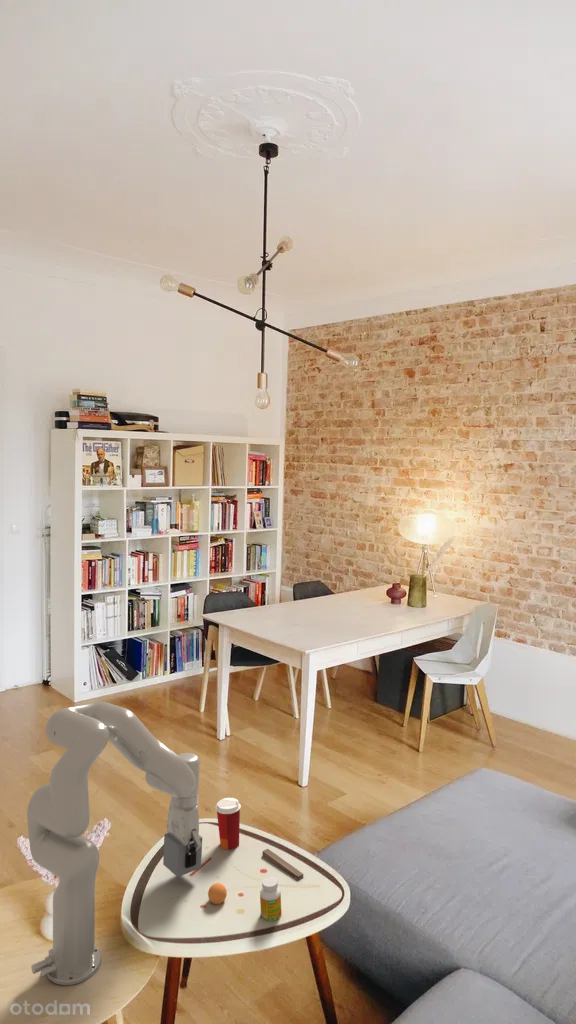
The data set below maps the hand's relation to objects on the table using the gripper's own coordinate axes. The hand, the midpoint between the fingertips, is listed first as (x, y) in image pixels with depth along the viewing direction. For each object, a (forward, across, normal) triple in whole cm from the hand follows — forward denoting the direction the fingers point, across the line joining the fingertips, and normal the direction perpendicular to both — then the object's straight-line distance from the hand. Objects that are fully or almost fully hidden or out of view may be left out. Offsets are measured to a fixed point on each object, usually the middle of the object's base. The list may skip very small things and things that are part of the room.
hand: (182, 859), depth 192 cm
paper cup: (+5, -4, +20) cm, 21 cm away
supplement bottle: (+6, +28, +10) cm, 31 cm away
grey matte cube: (+2, 0, 0) cm, 2 cm away
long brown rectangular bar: (+5, +15, +25) cm, 29 cm away
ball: (+3, +15, +2) cm, 15 cm away
